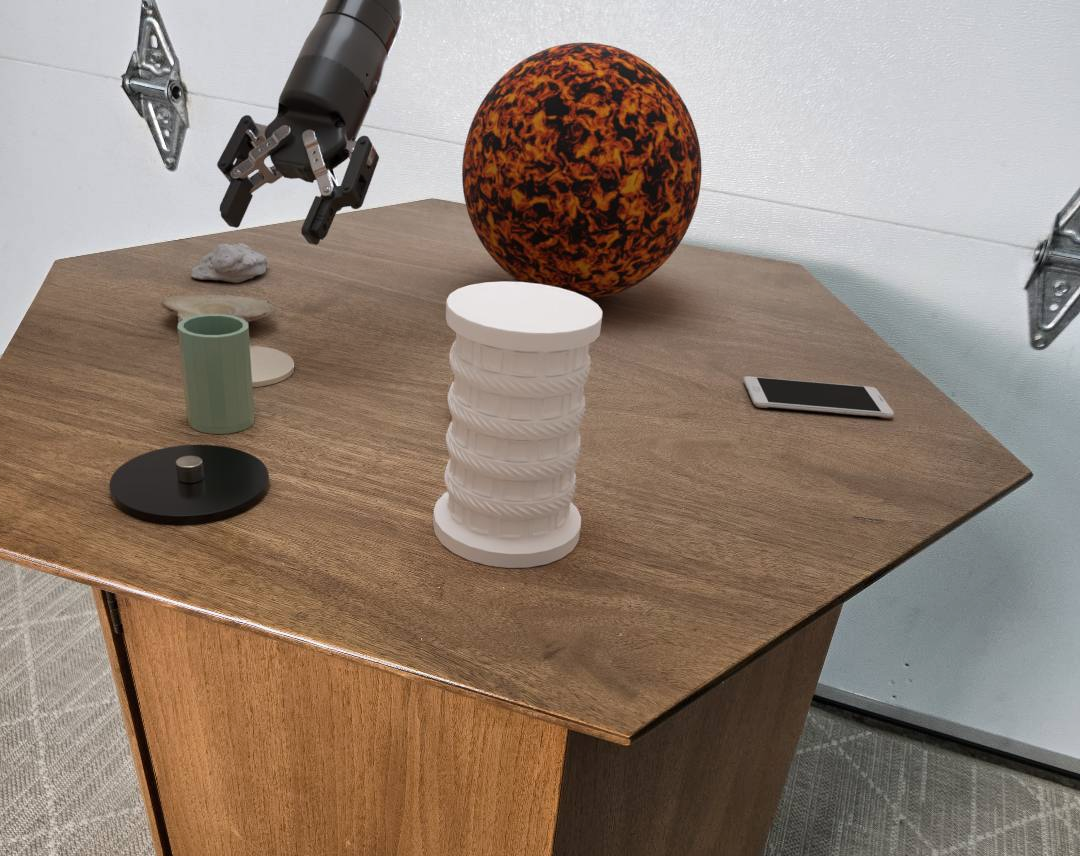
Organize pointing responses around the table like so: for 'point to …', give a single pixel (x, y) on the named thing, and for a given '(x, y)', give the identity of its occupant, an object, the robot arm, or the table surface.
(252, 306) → the seashell
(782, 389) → the smartphone
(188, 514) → the lid
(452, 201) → the table surface
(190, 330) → the pot
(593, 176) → the ball
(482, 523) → the decorative container
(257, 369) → the coaster
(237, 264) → the stone
